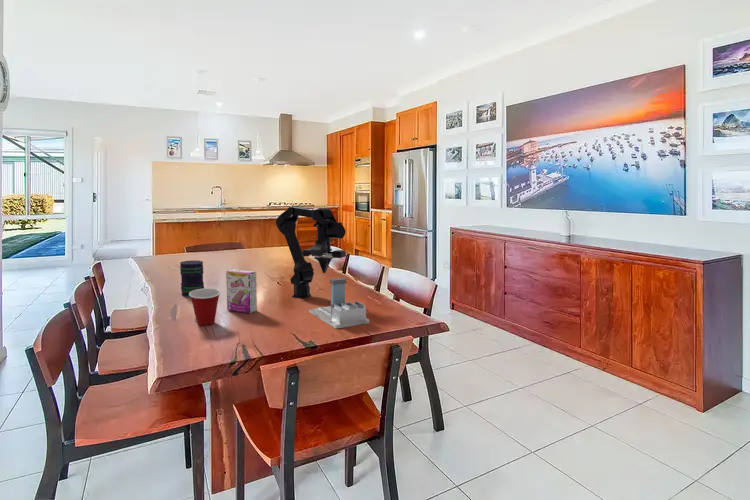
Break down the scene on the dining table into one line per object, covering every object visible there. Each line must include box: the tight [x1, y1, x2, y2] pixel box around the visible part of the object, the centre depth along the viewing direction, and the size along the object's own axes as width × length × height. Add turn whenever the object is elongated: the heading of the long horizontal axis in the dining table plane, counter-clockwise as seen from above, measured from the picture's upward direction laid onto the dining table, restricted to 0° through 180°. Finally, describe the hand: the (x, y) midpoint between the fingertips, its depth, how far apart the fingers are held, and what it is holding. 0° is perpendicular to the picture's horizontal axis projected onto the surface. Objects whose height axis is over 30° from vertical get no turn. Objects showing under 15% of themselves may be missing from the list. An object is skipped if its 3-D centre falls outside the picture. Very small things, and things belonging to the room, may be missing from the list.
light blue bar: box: [329, 277, 347, 306], centre depth 167 cm, size 8×6×14 cm
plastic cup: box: [189, 287, 222, 327], centre depth 158 cm, size 11×11×12 cm
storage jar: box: [179, 260, 205, 298], centre depth 201 cm, size 10×10×15 cm
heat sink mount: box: [308, 300, 370, 329], centre depth 169 cm, size 24×14×7 cm, turn 32°
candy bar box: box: [225, 268, 258, 314], centre depth 175 cm, size 11×5×16 cm, turn 71°
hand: (324, 272), depth 190 cm, fingers closed
